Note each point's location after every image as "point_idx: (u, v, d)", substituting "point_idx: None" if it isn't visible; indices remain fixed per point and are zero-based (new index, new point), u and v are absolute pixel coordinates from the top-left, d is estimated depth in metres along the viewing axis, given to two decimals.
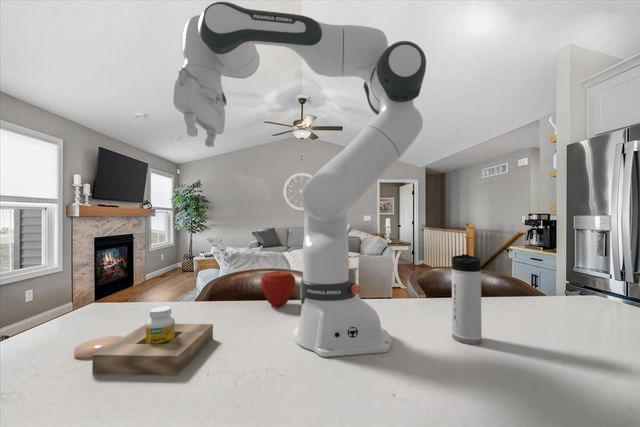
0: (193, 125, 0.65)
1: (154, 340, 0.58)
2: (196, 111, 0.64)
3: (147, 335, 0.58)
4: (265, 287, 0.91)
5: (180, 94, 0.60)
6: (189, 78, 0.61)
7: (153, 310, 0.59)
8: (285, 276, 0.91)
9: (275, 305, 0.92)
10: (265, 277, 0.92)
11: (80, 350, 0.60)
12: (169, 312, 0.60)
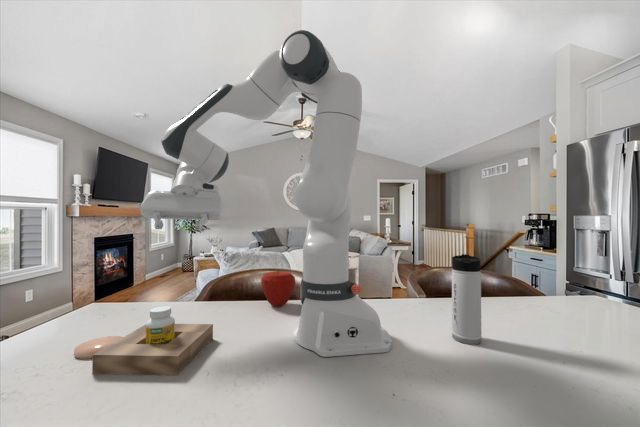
0: (155, 219, 0.73)
1: (154, 340, 0.58)
2: (154, 208, 0.74)
3: (147, 335, 0.58)
4: (265, 287, 0.91)
5: None
6: None
7: (153, 310, 0.59)
8: (285, 276, 0.91)
9: (275, 305, 0.92)
10: (265, 277, 0.92)
11: (80, 350, 0.60)
12: (169, 312, 0.60)
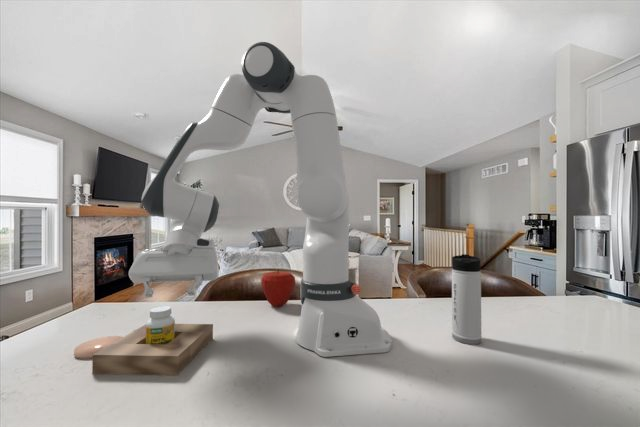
0: (144, 286, 0.66)
1: (154, 340, 0.58)
2: (143, 274, 0.68)
3: (147, 335, 0.58)
4: (265, 287, 0.91)
5: None
6: None
7: (153, 310, 0.59)
8: (285, 276, 0.91)
9: (275, 305, 0.92)
10: (265, 277, 0.92)
11: (80, 350, 0.60)
12: (169, 312, 0.60)
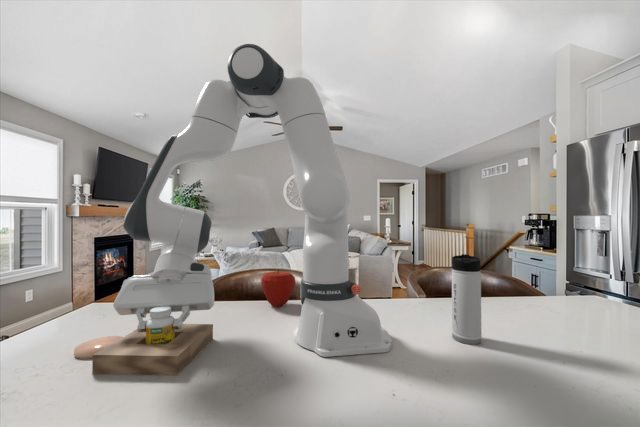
0: None
1: (154, 340, 0.58)
2: (130, 305, 0.61)
3: (147, 335, 0.58)
4: (265, 287, 0.91)
5: None
6: None
7: (153, 310, 0.59)
8: (285, 276, 0.91)
9: (275, 305, 0.92)
10: (265, 277, 0.92)
11: (80, 350, 0.60)
12: (169, 312, 0.60)
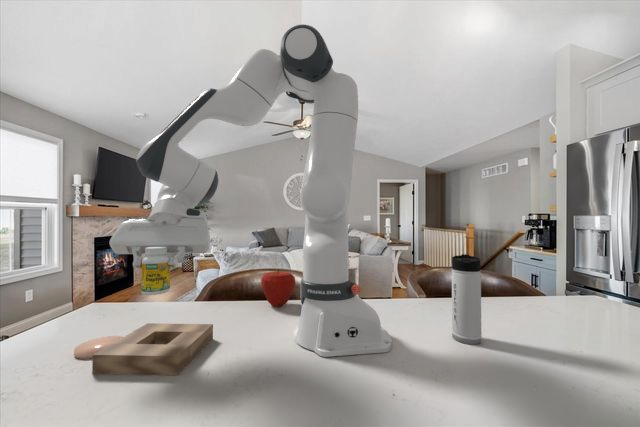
0: (134, 256, 0.60)
1: (149, 276, 0.58)
2: (126, 243, 0.61)
3: (142, 271, 0.59)
4: (265, 287, 0.91)
5: None
6: None
7: (149, 247, 0.60)
8: (285, 276, 0.91)
9: (275, 305, 0.92)
10: (265, 277, 0.92)
11: (80, 350, 0.60)
12: (165, 250, 0.61)
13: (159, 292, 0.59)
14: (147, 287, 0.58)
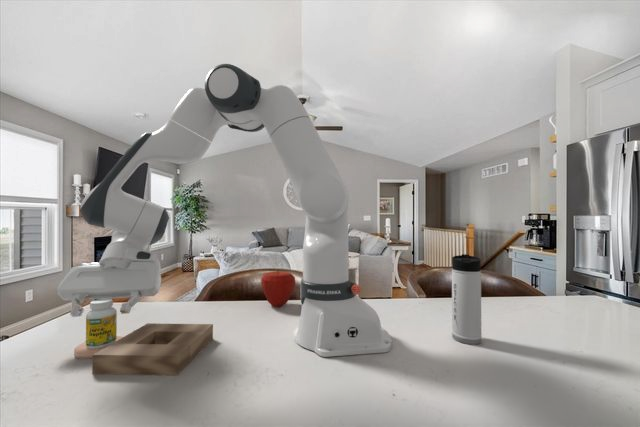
0: None
1: (93, 331, 0.60)
2: (73, 291, 0.63)
3: (86, 326, 0.60)
4: (265, 287, 0.91)
5: None
6: None
7: (93, 302, 0.62)
8: (285, 276, 0.91)
9: (275, 305, 0.92)
10: (265, 277, 0.92)
11: (80, 350, 0.60)
12: (110, 304, 0.63)
13: (103, 346, 0.61)
14: (90, 342, 0.60)
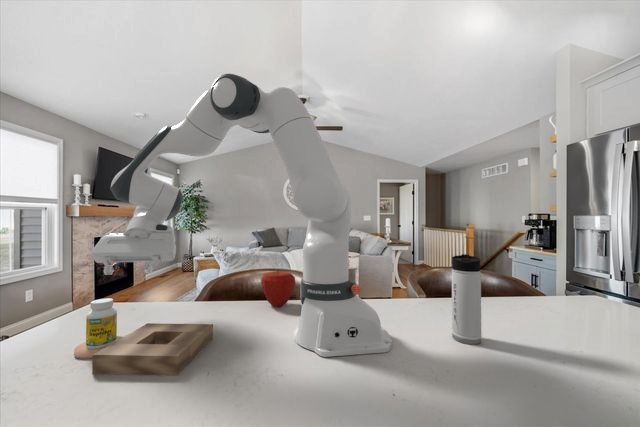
0: (105, 265, 0.75)
1: (93, 330, 0.60)
2: (104, 254, 0.76)
3: (87, 325, 0.61)
4: (265, 287, 0.91)
5: None
6: None
7: (94, 302, 0.62)
8: (285, 276, 0.91)
9: (275, 305, 0.92)
10: (265, 277, 0.92)
11: (80, 350, 0.60)
12: (110, 304, 0.63)
13: (103, 346, 0.61)
14: (90, 341, 0.60)
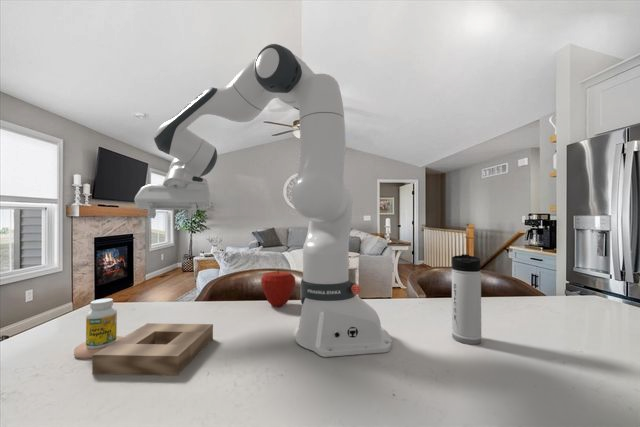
0: (148, 209, 0.79)
1: (93, 330, 0.60)
2: (147, 199, 0.81)
3: (87, 325, 0.61)
4: (265, 287, 0.91)
5: None
6: None
7: (94, 302, 0.62)
8: (285, 276, 0.91)
9: (275, 305, 0.92)
10: (265, 277, 0.92)
11: (80, 350, 0.60)
12: (110, 304, 0.63)
13: (103, 346, 0.61)
14: (90, 341, 0.60)
